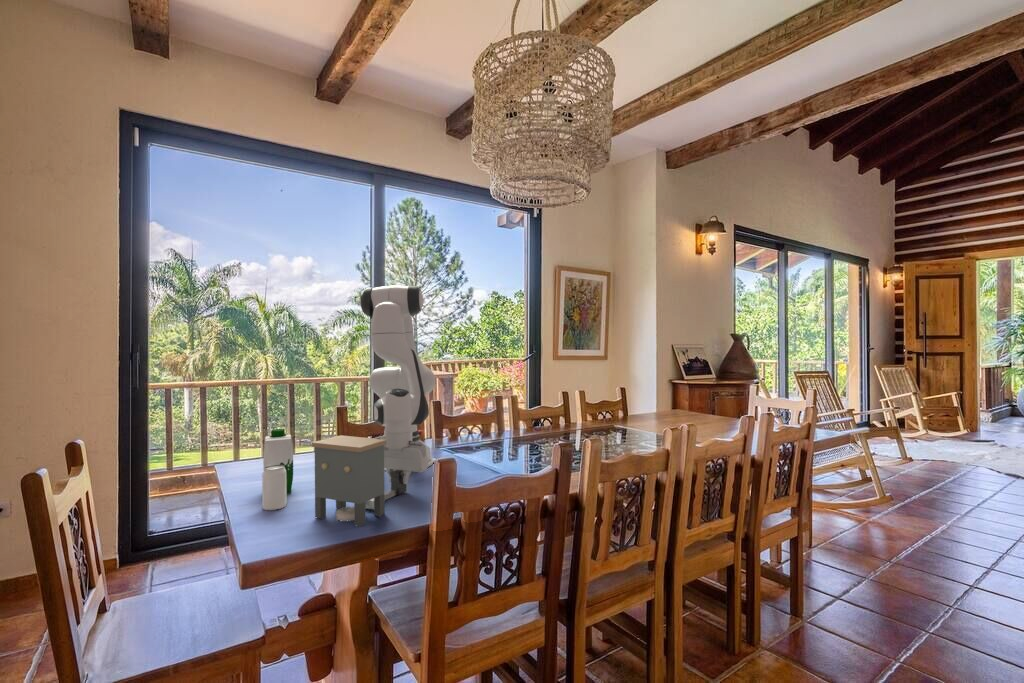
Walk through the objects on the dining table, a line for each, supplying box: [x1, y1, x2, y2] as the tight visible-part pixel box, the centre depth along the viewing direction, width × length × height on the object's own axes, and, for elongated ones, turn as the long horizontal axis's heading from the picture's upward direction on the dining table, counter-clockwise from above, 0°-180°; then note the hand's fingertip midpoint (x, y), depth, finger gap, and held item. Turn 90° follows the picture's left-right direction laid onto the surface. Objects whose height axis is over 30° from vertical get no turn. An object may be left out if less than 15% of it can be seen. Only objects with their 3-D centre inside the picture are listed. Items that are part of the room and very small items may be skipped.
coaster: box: [335, 506, 355, 522], centre depth 140 cm, size 6×6×2 cm
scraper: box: [365, 470, 407, 511], centre depth 155 cm, size 18×7×7 cm, turn 156°
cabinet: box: [311, 434, 387, 527], centre depth 141 cm, size 11×17×21 cm, turn 66°
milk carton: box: [262, 428, 294, 495], centre depth 164 cm, size 9×9×20 cm
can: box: [261, 465, 288, 511], centre depth 149 cm, size 6×6×12 cm
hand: (398, 482), depth 162 cm, fingers closed on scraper, 3 cm apart
